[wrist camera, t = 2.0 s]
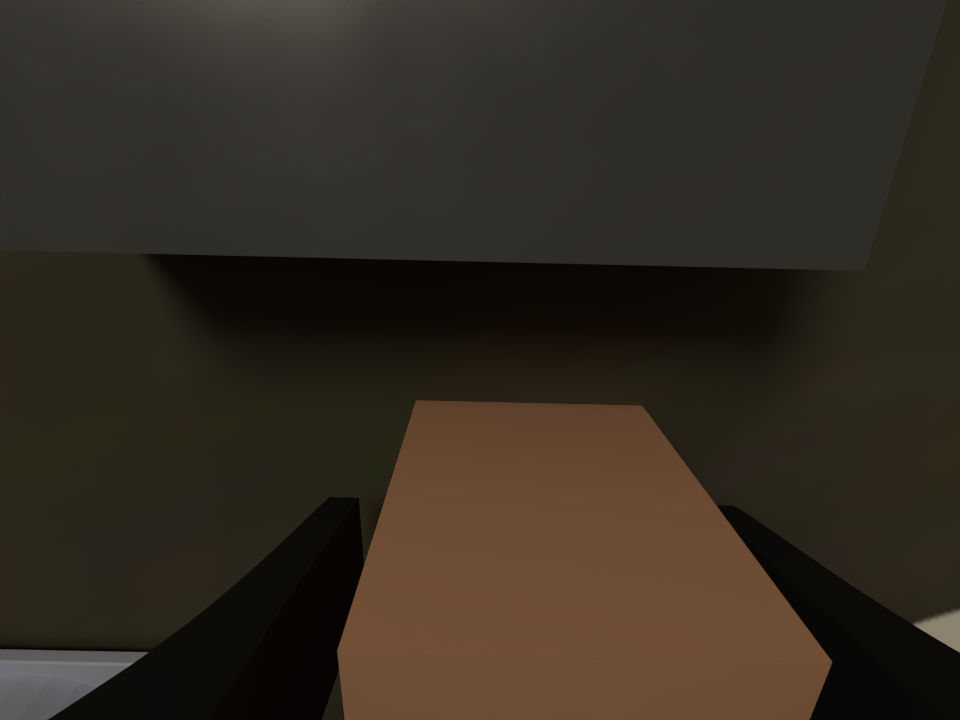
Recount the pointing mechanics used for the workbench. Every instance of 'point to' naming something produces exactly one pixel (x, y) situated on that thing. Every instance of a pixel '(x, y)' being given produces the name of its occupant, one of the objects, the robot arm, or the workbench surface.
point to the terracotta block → (563, 581)
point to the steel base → (459, 128)
